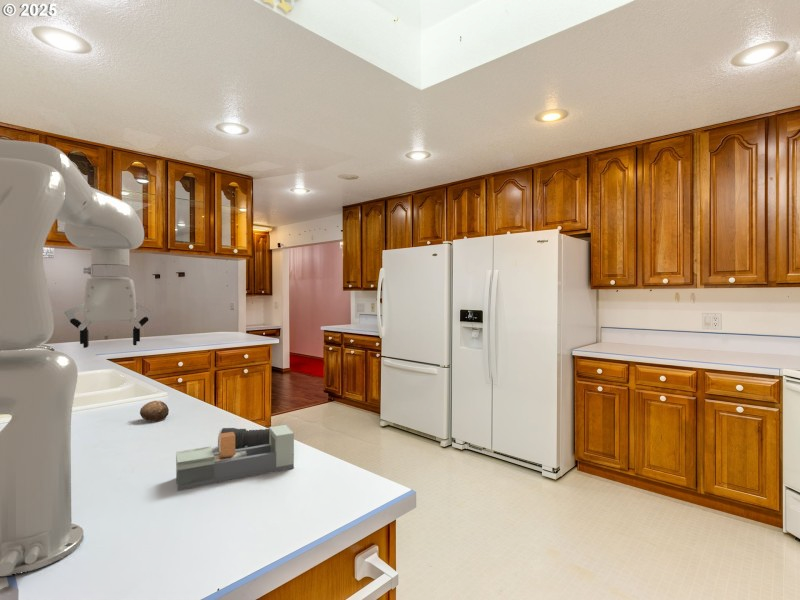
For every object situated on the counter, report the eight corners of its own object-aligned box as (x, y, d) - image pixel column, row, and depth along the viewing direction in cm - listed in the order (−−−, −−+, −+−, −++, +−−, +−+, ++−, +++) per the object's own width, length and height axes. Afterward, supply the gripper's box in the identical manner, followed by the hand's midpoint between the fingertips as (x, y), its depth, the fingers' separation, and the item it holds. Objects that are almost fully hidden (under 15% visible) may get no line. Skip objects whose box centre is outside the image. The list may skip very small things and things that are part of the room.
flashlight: (282, 443, 117) (282, 423, 117) (279, 451, 112) (279, 430, 112) (223, 445, 116) (223, 425, 116) (217, 453, 110) (217, 431, 110)
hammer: (177, 480, 91) (176, 444, 90) (176, 474, 93) (176, 439, 93) (247, 467, 97) (247, 433, 97) (244, 462, 100) (244, 429, 100)
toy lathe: (177, 490, 89) (177, 451, 89) (176, 477, 95) (176, 440, 95) (293, 468, 101) (293, 433, 100) (286, 457, 107) (286, 424, 107)
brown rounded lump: (141, 407, 140) (147, 393, 138) (167, 413, 143) (173, 400, 141) (133, 425, 133) (139, 411, 131) (160, 432, 137) (167, 418, 134)
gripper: (62, 271, 95) (62, 350, 95) (153, 273, 103) (153, 345, 104) (67, 273, 101) (67, 346, 101) (152, 275, 110) (152, 342, 110)
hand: (111, 345), depth 102 cm, fingers open, 9 cm apart
